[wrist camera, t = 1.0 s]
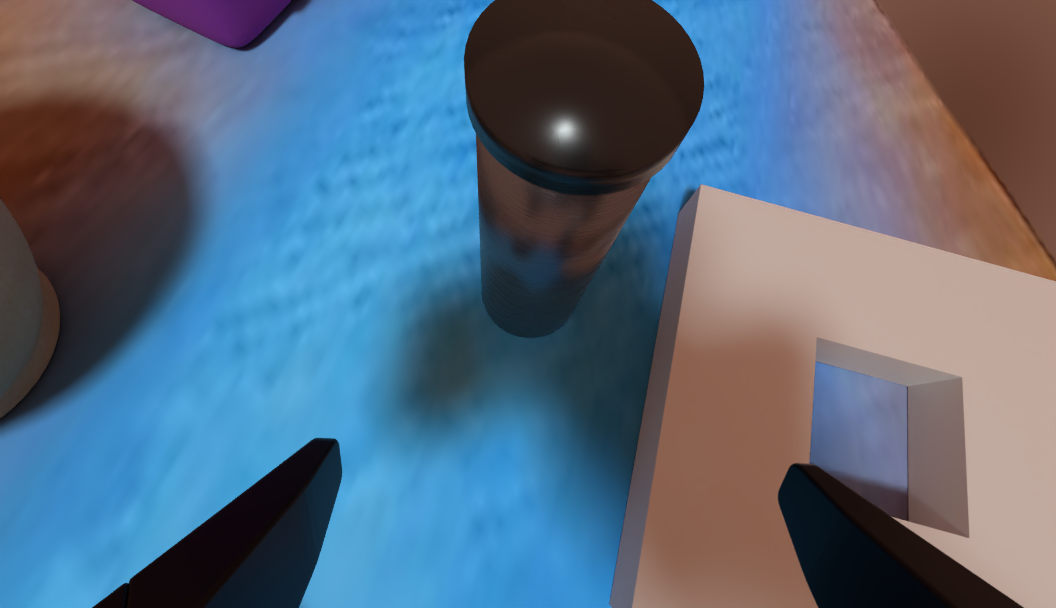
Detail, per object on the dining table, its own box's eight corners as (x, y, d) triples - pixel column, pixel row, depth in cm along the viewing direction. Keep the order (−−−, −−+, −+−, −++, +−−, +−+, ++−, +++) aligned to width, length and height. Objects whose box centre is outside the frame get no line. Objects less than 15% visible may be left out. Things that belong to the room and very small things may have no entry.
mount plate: (1055, 728, 20) (1147, 772, 18) (609, 604, 20) (628, 627, 18) (1017, 306, 27) (1080, 288, 24) (678, 213, 27) (701, 184, 24)
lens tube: (567, 353, 24) (685, 199, 10) (464, 325, 24) (430, 129, 10) (590, 259, 26) (717, 11, 11) (494, 233, 26) (501, -48, 11)
